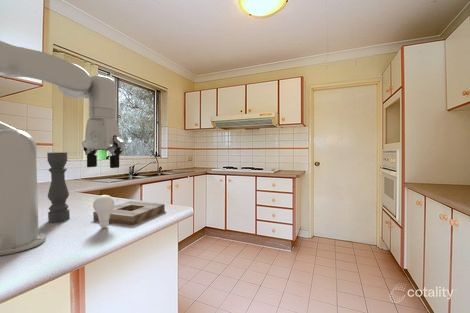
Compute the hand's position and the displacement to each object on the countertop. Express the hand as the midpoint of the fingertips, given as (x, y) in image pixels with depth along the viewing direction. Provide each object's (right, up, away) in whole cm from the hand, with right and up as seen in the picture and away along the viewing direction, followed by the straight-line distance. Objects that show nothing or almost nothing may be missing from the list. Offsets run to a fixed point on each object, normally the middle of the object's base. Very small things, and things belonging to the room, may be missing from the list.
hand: (103, 167), depth 73 cm
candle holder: (-21, -20, +9) cm, 31 cm away
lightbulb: (0, -20, 0) cm, 20 cm away
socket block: (+3, -20, +14) cm, 25 cm away
